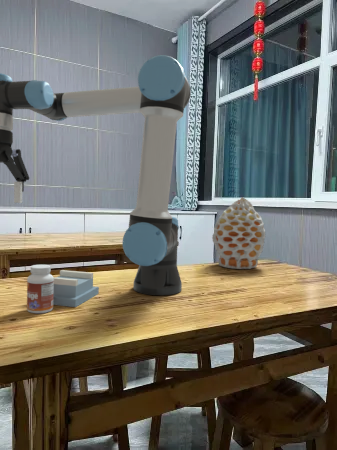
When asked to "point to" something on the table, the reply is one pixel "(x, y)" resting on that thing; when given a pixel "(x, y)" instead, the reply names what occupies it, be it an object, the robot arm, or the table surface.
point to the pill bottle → (40, 289)
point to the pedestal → (73, 288)
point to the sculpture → (239, 236)
